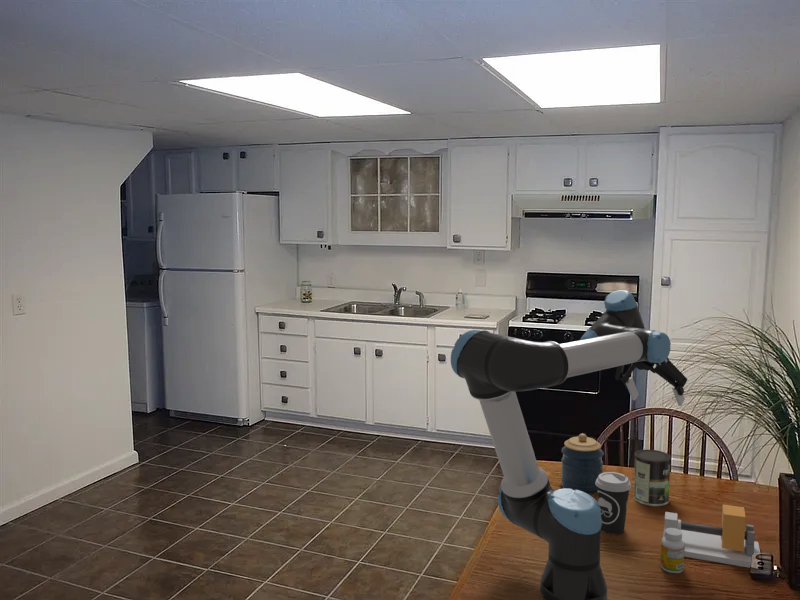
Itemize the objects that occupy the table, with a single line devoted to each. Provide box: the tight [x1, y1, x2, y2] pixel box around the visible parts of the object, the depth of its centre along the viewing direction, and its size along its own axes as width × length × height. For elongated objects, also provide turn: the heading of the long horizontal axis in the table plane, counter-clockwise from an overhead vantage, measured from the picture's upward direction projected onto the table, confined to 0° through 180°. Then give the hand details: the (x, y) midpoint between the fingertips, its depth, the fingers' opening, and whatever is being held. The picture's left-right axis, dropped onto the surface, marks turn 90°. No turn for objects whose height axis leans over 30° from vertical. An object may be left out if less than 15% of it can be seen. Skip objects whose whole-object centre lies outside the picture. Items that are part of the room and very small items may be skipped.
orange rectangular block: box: [720, 504, 747, 552], centre depth 176 cm, size 6×5×9 cm
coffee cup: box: [595, 471, 632, 535], centre depth 190 cm, size 10×10×15 cm
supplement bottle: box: [660, 528, 685, 574], centre depth 170 cm, size 5×5×10 cm
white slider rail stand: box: [662, 511, 761, 569], centre depth 178 cm, size 12×23×8 cm, turn 67°
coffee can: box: [633, 449, 672, 507], centre depth 209 cm, size 10×10×14 cm
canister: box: [560, 432, 605, 495], centre depth 219 cm, size 13×13×18 cm
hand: (658, 399), depth 193 cm, fingers open, 13 cm apart
